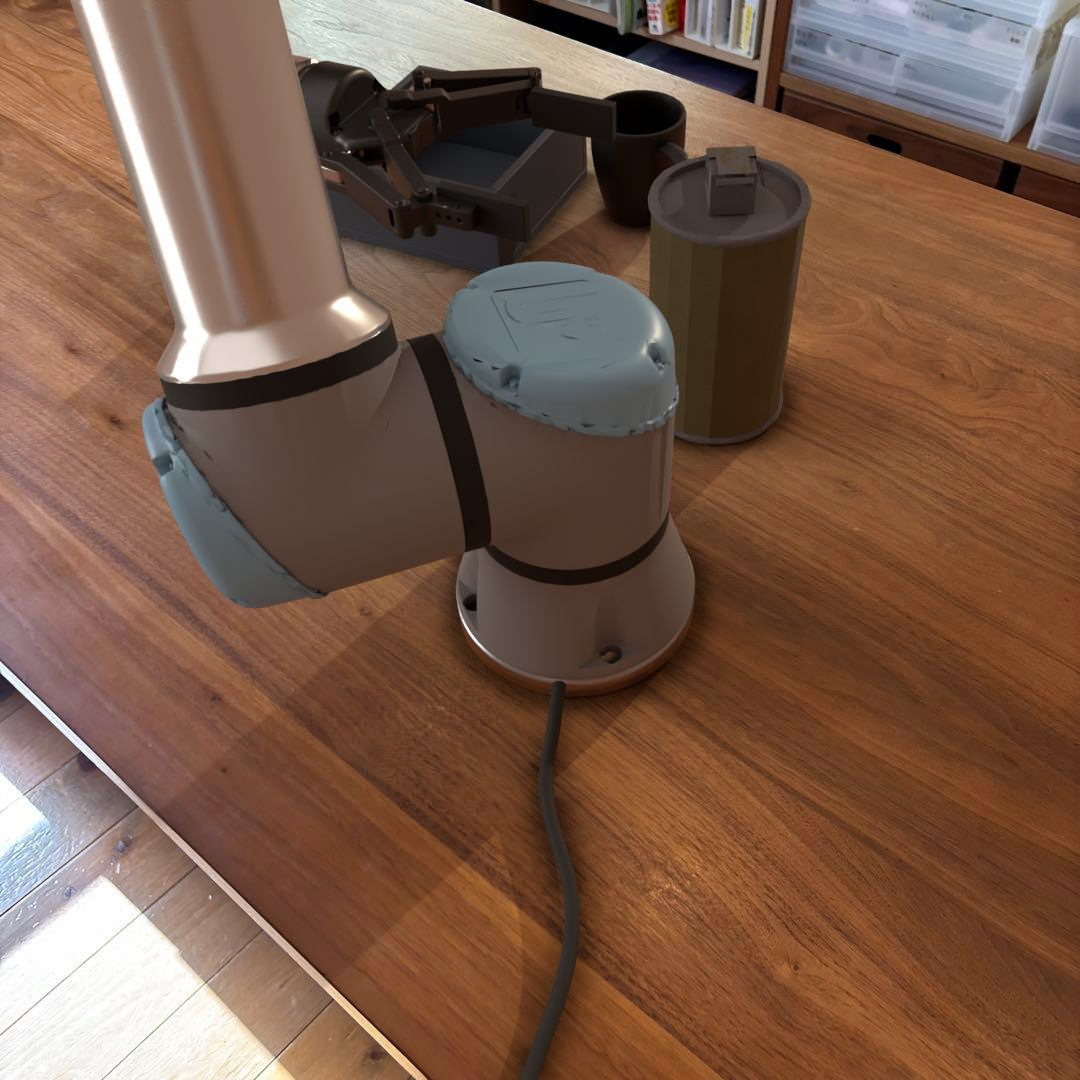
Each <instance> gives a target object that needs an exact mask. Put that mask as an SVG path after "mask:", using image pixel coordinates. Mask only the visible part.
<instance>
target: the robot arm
mask: <svg viewBox="0 0 1080 1080" xmlns="http://www.w3.org/2000/svg"><path fill="white" fill-rule="evenodd" d="M69 1H70V5H71V7H72V10H73V14H74V16H75V20H76V23H77V26H78V29H79V31H80V35H81V38H82V41H83V44H84V47H85V50H86V53H87V56H88V59H89V63H90V66H91V68H92V73H93V75H94V78H95V80H96V84H97V88H98V90H99V93H100V96H101V100H102V102H103V105H104V109H105V111H106V114H107V117H108V120H109V124H110V127H111V130H112V133H113V136H114V140H115V142H116V145H117V149H118V151H119V154H120V157H121V161H122V164H123V167H124V170H125V173H126V176H127V180H128V182H129V185H130V188H131V191H132V194H133V197H134V201H135V204H136V206H137V209H138V212H139V216H140V219H141V222H142V225H143V228H144V232H145V234H146V237H147V241H148V243H149V246H150V250H151V253H152V255H153V259H154V262H155V265H156V268H157V270H158V274H159V277H160V280H161V283H162V286H163V290H164V292H165V295H166V298H167V301H168V304H169V308H170V310H171V314H172V317H173V320H174V324H175V325H174V329H173V333H172V336H171V338H170V340H169V341H168V343H167V345H166V347H165V349H164V350H163V352H162V354H161V356H160V358H159V360H158V361H157V364H156V366H155V367H156V372H157V375H158V378H159V381H160V384H161V388H162V390H163V393H164V396H161V397H159V396H158V397H156V398H155V399H154V400H153V402H151V403H150V404H148V405H147V406H146V407H145V408H144V411H143V412H142V415H141V426H142V431H143V438H144V442H145V447H146V449H147V453H148V455H149V457H150V459H151V462H152V464H153V467H154V469H155V471H156V473H157V475H158V479H159V485H160V489H161V491H162V494H163V496H164V499H165V500H166V502H167V506H168V507H169V509H170V512H171V514H172V516H173V518H174V521H175V522H176V524H177V526H178V528H179V530H180V532H181V534H182V536H183V538H184V540H185V541H186V543H187V545H188V547H189V549H190V551H191V553H192V554H193V556H194V558H195V560H196V561H197V563H198V565H199V567H201V569H202V571H203V572H204V574H205V575H206V577H207V578H208V579H209V581H210V582H211V584H212V585H213V587H215V588H216V589H217V590H218V592H219V593H221V594H222V595H223V596H224V597H225V598H226V599H228V600H229V601H230V602H231V603H233V604H234V605H238V606H240V607H243V608H247V609H255V610H256V609H257V610H258V609H265V608H269V607H275V606H277V605H282V604H285V603H290V602H291V603H292V602H295V601H299V600H303V599H308V598H310V599H313V600H320V599H323V598H326V597H328V595H329V594H330V593H333V592H337V591H340V590H343V589H346V588H347V589H348V588H350V587H353V586H357V585H360V584H364V583H368V582H370V581H375V580H377V579H381V578H384V577H388V576H391V575H394V574H398V573H400V572H405V571H409V570H411V569H414V568H418V567H421V566H425V565H427V564H428V565H429V564H432V563H435V562H438V561H441V560H445V559H449V558H451V557H456V556H458V555H461V554H462V558H461V561H460V563H459V567H458V571H457V575H456V582H455V599H456V605H457V611H458V616H459V621H460V622H459V623H460V626H461V628H462V632H463V634H464V637H465V639H466V641H467V643H468V645H469V647H470V648H471V649H472V651H473V652H474V653H475V655H476V656H477V657H478V658H479V659H480V660H481V662H482V663H483V664H484V665H486V666H487V668H489V669H491V671H492V672H493V673H496V675H498V676H500V677H501V678H503V679H504V680H506V681H508V682H510V683H512V684H514V685H517V686H518V687H520V688H523V689H526V690H529V691H532V692H536V693H540V694H544V695H549V696H550V699H549V700H550V701H549V706H548V712H547V720H546V726H545V733H544V739H543V744H542V748H541V753H540V760H539V767H538V768H539V769H538V794H539V801H540V809H541V814H542V819H543V823H544V827H545V830H546V834H547V838H548V841H549V844H550V847H551V851H552V853H553V857H554V860H555V864H556V867H557V871H558V874H559V879H560V883H561V889H562V897H563V909H564V913H563V915H564V916H563V918H564V919H563V923H564V924H563V935H562V943H561V950H560V956H559V960H558V961H559V962H558V966H557V970H556V974H555V977H554V981H553V985H552V988H551V991H550V995H549V998H548V1001H547V1002H546V1003H547V1004H546V1006H545V1008H544V1012H543V1014H542V1017H541V1020H540V1022H539V1025H538V1027H537V1028H538V1029H537V1030H536V1033H535V1036H534V1039H533V1040H532V1044H531V1046H530V1050H529V1052H528V1055H527V1058H526V1061H525V1063H524V1066H523V1069H522V1072H521V1075H520V1079H519V1080H540V1076H541V1073H542V1070H543V1067H544V1065H545V1061H546V1059H547V1055H548V1053H549V1050H550V1047H551V1044H552V1042H553V1039H554V1036H555V1034H556V1031H557V1028H558V1025H559V1023H560V1020H561V1017H562V1015H563V1011H564V1008H565V1005H566V1003H567V999H568V997H569V992H570V988H571V985H572V983H573V978H574V973H575V968H576V965H577V964H576V963H577V957H578V953H579V944H580V932H581V901H580V894H579V887H578V882H577V877H576V873H575V872H576V871H575V869H574V865H573V862H572V858H571V855H570V852H569V849H568V846H567V844H566V840H565V837H564V834H563V831H562V828H561V823H560V819H559V815H558V811H557V805H556V800H555V788H554V771H555V761H556V756H557V752H558V747H559V741H560V735H561V727H562V719H563V713H564V705H565V698H566V697H568V698H570V697H571V698H573V697H575V698H576V697H590V696H591V697H592V696H598V695H604V694H608V693H612V692H616V691H619V690H622V689H625V688H628V687H630V686H632V685H634V684H636V683H638V682H641V681H642V680H644V679H646V678H648V677H649V676H651V675H652V674H653V673H655V672H656V671H658V670H659V669H660V668H661V667H663V666H664V665H665V664H666V663H667V662H668V661H669V660H670V659H671V658H672V657H673V656H674V655H675V654H676V652H677V651H678V649H679V648H680V647H681V646H682V643H683V642H684V640H685V638H686V637H687V634H688V631H689V629H690V626H691V624H692V619H693V615H694V609H695V608H694V607H695V595H696V578H695V571H694V566H693V563H692V560H691V558H690V555H689V553H688V550H687V549H686V546H685V545H684V543H683V541H682V539H681V537H680V533H679V531H678V528H677V526H676V524H675V520H674V519H673V517H672V514H671V511H670V507H671V506H670V505H671V492H672V491H671V490H672V475H673V474H672V473H673V456H674V455H673V454H674V440H675V438H674V437H675V435H674V424H675V411H676V409H677V406H678V401H679V388H678V384H677V380H676V377H675V348H674V341H673V337H672V333H671V330H670V328H669V326H668V323H667V321H666V320H665V318H664V316H663V315H662V313H661V312H660V311H659V309H658V308H657V307H656V306H655V304H654V303H653V302H652V301H651V300H650V299H649V297H648V296H646V295H645V294H644V293H643V292H641V291H640V290H639V289H638V288H636V287H635V286H633V285H631V284H630V283H628V282H627V281H624V280H622V279H620V278H618V277H616V276H614V275H611V274H607V273H603V272H600V271H598V270H595V268H592V267H589V266H585V265H580V264H575V263H568V262H560V261H544V260H543V261H525V262H518V263H517V262H516V263H513V264H511V265H506V266H502V267H498V268H495V269H492V270H489V271H487V272H485V273H480V274H478V275H477V276H475V277H473V278H472V279H470V280H469V281H468V283H467V285H466V288H459V290H458V291H457V292H456V293H454V294H453V296H452V297H451V299H450V301H449V303H448V305H447V308H446V310H445V314H444V318H443V320H442V321H441V322H442V328H441V330H439V331H436V332H432V333H427V334H424V335H420V336H417V337H416V336H415V337H412V338H408V339H407V338H406V339H403V340H398V338H397V337H398V336H397V333H396V330H395V324H394V321H393V318H392V313H391V312H390V311H391V310H390V309H389V308H388V307H387V306H385V305H383V304H382V303H381V302H379V301H378V300H376V299H374V298H373V297H372V296H370V295H368V294H366V293H365V292H364V291H362V290H361V289H359V288H357V286H356V285H355V284H354V283H353V280H352V279H351V277H350V274H349V270H348V266H347V262H346V258H345V254H344V250H343V247H342V242H341V239H340V238H341V237H340V236H339V234H338V230H337V227H336V223H335V219H334V215H333V211H332V207H331V203H330V199H329V195H328V191H327V188H328V189H331V190H334V191H336V192H339V193H342V194H345V195H347V196H348V197H350V198H351V199H352V200H353V201H354V202H356V203H357V204H358V205H359V206H360V207H362V208H363V209H364V210H365V211H366V212H368V213H369V214H370V215H371V216H372V217H374V218H375V219H376V220H377V221H379V222H380V223H381V224H382V225H383V226H385V227H386V228H387V229H388V230H389V231H391V232H392V233H393V234H394V235H395V236H397V237H398V238H400V239H409V238H411V237H413V236H414V233H415V232H414V229H415V228H417V227H419V226H420V232H421V235H422V236H424V237H432V236H434V235H436V234H437V233H438V228H437V224H439V225H443V226H447V227H451V228H452V227H453V228H455V229H459V230H463V231H478V232H482V233H486V234H491V235H495V236H499V237H503V238H507V239H511V240H515V241H519V242H523V243H527V242H528V241H529V239H530V238H531V225H530V210H529V201H527V200H522V199H518V198H514V197H510V196H505V195H501V194H497V193H492V192H488V191H484V190H480V189H475V188H471V187H467V186H463V185H458V184H454V183H450V182H446V181H441V182H440V183H439V184H438V185H437V186H436V191H437V194H433V193H432V188H431V187H430V185H429V184H428V182H427V181H426V179H425V178H424V176H423V175H422V173H421V172H420V170H419V169H418V167H417V166H416V164H415V163H414V161H413V160H415V159H416V158H417V157H418V156H419V155H420V153H421V151H422V149H424V148H425V147H427V146H429V145H430V144H432V143H433V142H434V141H439V140H445V139H448V138H450V137H451V136H452V134H453V132H455V131H460V130H466V129H472V128H478V127H483V126H489V125H495V124H501V123H507V122H513V121H518V120H524V119H530V118H532V126H536V127H541V128H545V129H550V130H555V131H560V132H565V133H569V134H574V135H579V136H584V137H586V138H590V139H591V138H593V139H598V140H603V141H608V142H613V141H614V139H615V138H616V102H613V101H608V100H603V98H597V97H592V96H587V95H581V94H576V93H571V92H567V91H563V90H556V89H551V88H545V87H543V75H542V74H543V73H542V69H541V68H540V67H536V66H530V67H529V66H527V67H508V68H490V69H489V68H488V69H487V68H486V69H469V70H448V71H446V72H441V71H434V70H426V69H417V70H414V69H413V70H414V71H413V70H412V71H413V72H412V71H411V72H412V73H411V74H412V81H413V85H412V86H411V87H410V88H409V89H408V90H407V89H401V90H391V89H387V88H386V87H384V85H383V84H382V83H381V82H380V81H379V80H378V79H377V77H376V76H375V75H374V74H373V73H372V72H370V71H369V70H368V69H366V68H364V67H361V66H356V65H351V64H346V63H341V62H336V61H332V60H320V59H317V58H313V57H308V56H302V55H296V54H294V53H293V51H292V46H291V42H290V39H289V35H288V31H287V27H286V24H285V19H284V15H283V12H282V8H281V4H280V0H69ZM435 109H437V110H438V118H439V124H438V125H437V126H435V120H434V114H433V112H432V111H434V110H435ZM371 166H378V167H379V169H380V170H382V171H383V173H384V174H385V176H386V178H387V179H388V181H389V182H390V184H392V183H393V184H394V186H395V187H396V189H397V190H398V191H397V190H396V189H395V188H393V187H392V186H391V185H390V184H388V183H387V182H386V181H385V180H383V179H382V178H381V177H379V176H378V175H377V174H376V173H374V172H373V171H372V170H371V169H369V168H368V167H371Z"/></svg>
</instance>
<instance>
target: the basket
mask: <svg viewBox="0 0 1080 1080" xmlns="http://www.w3.org/2000/svg"><path fill="white" fill-rule="evenodd" d="M417 69H426V70H434V71H441V72H446V71H449V69H443V68H437V67H432V66H426V65H421V64H418V65H417V66H416V67H415V68H414V69H413V70H412V71H410V72H409V73H408V74H407V75H406V76H404V77H403V78H402V79H401V80H400V81H399V82H397V83H396V84H395V85H394V86H393V87H391V88H390V90H401V89H407V90H408V89H409V88H410V87H411V86H412V85H413V81H412V74H411V73H412V72H413V71H414V70H417ZM432 112H433V114H434V120H435V126H437V125H438V124H439V118H438V110H437V109H435V110H434V111H432ZM587 141H588V140H587V137H584V136H579V135H574V134H569V133H565V132H560V131H555V130H550V129H545V128H541V127H536V126H532V118H530V119H524V120H518V121H513V122H507V123H501V124H495V125H489V126H483V127H478V128H472V129H466V130H460V131H455V132H453V134H452V136H451V137H450V138H448V139H445V140H439V141H434V142H433V143H432V144H430V145H429V146H427V147H425V148H424V149H422V151H421V153H420V155H419V156H418V157H417V158H416V159H415V160H413V161H414V163H415V164H416V166H417V167H418V169H419V170H420V172H421V173H422V175H423V176H424V178H425V179H426V181H427V182H428V184H429V185H430V187H431V188H432V193H433V194H437V191H436V186H437V185H438V184H439V183H440V182H441V181H446V182H450V183H454V184H458V185H463V186H467V187H471V188H475V189H480V190H484V191H488V192H492V193H497V194H501V195H505V196H510V197H514V198H518V199H522V200H527V201H529V210H530V225H531V238H530V239H529V241H528V242H527V243H523V242H519V241H515V240H511V239H507V238H503V237H499V236H495V235H491V234H486V233H482V232H478V231H463V230H459V229H455V228H453V227H452V228H451V227H447V226H443V225H439V224H437V228H438V233H437V234H436V235H434V236H432V237H424V236H422V235H421V232H420V226H419V227H417V228H415V229H414V232H415V233H414V236H413V237H411V238H409V239H400V238H398V237H397V236H395V235H394V234H393V233H392V232H391V231H389V230H388V229H387V228H386V227H385V226H383V225H382V224H381V223H380V222H379V221H377V220H376V219H375V218H374V217H372V216H371V215H370V214H369V213H368V212H366V211H365V210H364V209H363V208H362V207H360V206H359V205H358V204H357V203H356V202H354V201H353V200H352V199H351V198H350V197H348V196H347V195H345V194H342V193H339V192H336V191H334V190H331V189H328V188H327V191H328V195H329V199H330V203H331V207H332V211H333V215H334V219H335V223H336V227H337V230H338V234H339V237H340V238H341V237H342V238H345V239H349V240H354V241H357V242H361V243H365V244H368V245H373V246H377V247H380V248H384V249H388V250H391V251H392V250H393V251H395V252H399V253H404V254H407V255H412V256H415V257H419V258H422V259H426V260H431V261H434V262H438V263H442V264H444V265H445V264H446V265H449V266H454V267H458V268H462V269H464V270H465V269H466V270H469V271H473V272H477V273H480V274H482V273H485V272H487V271H489V270H492V269H495V268H498V267H502V266H506V265H511V264H515V262H516V261H517V260H518V259H519V257H520V256H521V255H522V254H523V253H524V252H525V250H526V249H527V248H528V247H529V246H530V245H531V243H532V242H533V241H534V240H535V239H536V237H538V235H539V234H540V233H541V232H542V230H543V229H544V228H545V227H546V226H547V224H548V223H549V222H550V221H551V220H552V219H553V218H554V216H555V215H556V214H557V213H558V212H559V210H561V208H562V207H563V206H564V204H566V203H567V201H568V200H569V199H570V197H572V195H573V194H574V193H575V191H576V190H577V189H578V188H579V187H580V186H581V185H582V184H583V182H584V181H585V180H586V179H587V178H588V153H587V152H588V148H587V147H588V146H587V145H588V143H587ZM368 168H369V169H371V170H372V171H373V172H374V173H376V174H377V175H378V176H379V177H381V178H382V179H383V180H385V181H386V182H387V183H388V184H390V182H389V181H388V179H387V178H386V176H385V174H384V173H383V171H382V170H380V169H379V167H378V166H371V167H368ZM390 185H391V186H392V187H393V188H395V189H396V187H395V186H394V184H393V183H392V184H390ZM396 190H397V189H396ZM397 191H398V190H397Z"/></svg>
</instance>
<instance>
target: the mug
mask: <svg viewBox="0 0 1080 1080" xmlns="http://www.w3.org/2000/svg"><path fill="white" fill-rule="evenodd" d="M602 99H603V100H608V101H613V102H616V138H615V139H614V141H613V142H608V141H603V140H598V139H593V138H590V151H591V152H590V153H591V160H592V165H593V169H594V174H595V177H596V181H597V185H598V189H599V192H600V195H601V198H602V201H603V204H604V206H605V209H606V214H607V216H608V217H609V219H610V220H611V221H612V222H614V223H616V224H618V225H620V226H623V227H628V228H645V227H649V226H650V227H651V212H650V210H649V205H648V195H649V191H650V188H651V186H652V184H653V182H654V181H655V179H656V178H657V177H658V176H659V175H660V174H661V173H662V172H663V171H664V170H666V169H668V168H670V167H672V166H674V165H676V164H678V163H680V162H682V161H685V160H689V159H692V158H691V156H690V154H689V153H688V152H687V151H686V149H685V148H686V135H687V134H686V133H687V115H688V114H687V109H686V106H685V105H684V104H683V102H681V100H679V99H678V98H676V97H675V96H672V95H670V94H669V93H666V92H661V91H657V90H649V89H631V90H625V91H624V90H623V91H620V92H616V93H612V94H610V95H607V96H605V97H604V98H602Z"/></svg>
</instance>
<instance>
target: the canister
mask: <svg viewBox="0 0 1080 1080" xmlns="http://www.w3.org/2000/svg"><path fill="white" fill-rule="evenodd" d="M705 149H706V151H705V155H701V156H697V157H693V158H691V159H689V160H685V161H682V162H680V163H678V164H676V165H674V166H672V167H670V168H668V169H666V170H664V171H663V172H662V173H661V174H660V175H659V176H658V177H657V178H656V179H655V181H654V182H653V184H652V186H651V188H650V191H649V195H648V205H649V210H650V212H651V225H650V234H649V235H650V237H649V240H650V241H649V279H648V280H649V282H648V285H649V286H648V298H649V299H650V300H651V301H652V302H653V303H654V304H655V306H656V307H657V308H658V309H659V311H660V312H661V313H662V315H663V316H664V318H665V320H666V321H667V323H668V326H669V328H670V330H671V333H672V337H673V341H674V348H675V377H676V380H677V384H678V388H679V401H678V406H677V409H676V411H675V424H674V437H677V438H679V439H682V440H684V441H687V442H690V443H695V444H699V445H707V446H708V445H709V446H722V445H731V444H736V443H740V442H741V443H742V442H745V441H749V440H751V439H753V438H755V437H758V436H760V435H761V434H762V433H764V432H765V431H766V430H768V429H769V428H770V427H771V426H772V425H773V424H774V423H775V422H776V421H777V420H778V419H779V416H780V414H781V412H782V409H783V404H784V392H783V381H784V375H785V368H786V361H787V354H788V347H789V341H790V334H791V327H792V320H793V315H794V314H793V313H794V307H795V300H796V293H797V285H798V279H799V273H800V266H801V259H802V251H803V243H804V239H805V238H804V237H805V232H806V225H807V219H808V216H809V213H810V211H811V208H812V200H813V198H812V194H811V192H810V188H809V185H808V183H806V181H805V180H804V179H803V177H802V176H800V175H799V174H798V173H796V172H795V171H794V170H792V169H791V168H789V167H788V166H786V165H785V164H783V163H780V162H777V161H774V160H771V159H767V158H763V157H760V156H758V155H757V150H756V146H755V145H742V146H738V145H737V146H736V145H735V146H718V147H717V146H715V147H714V146H712V147H706V148H705Z"/></svg>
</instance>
